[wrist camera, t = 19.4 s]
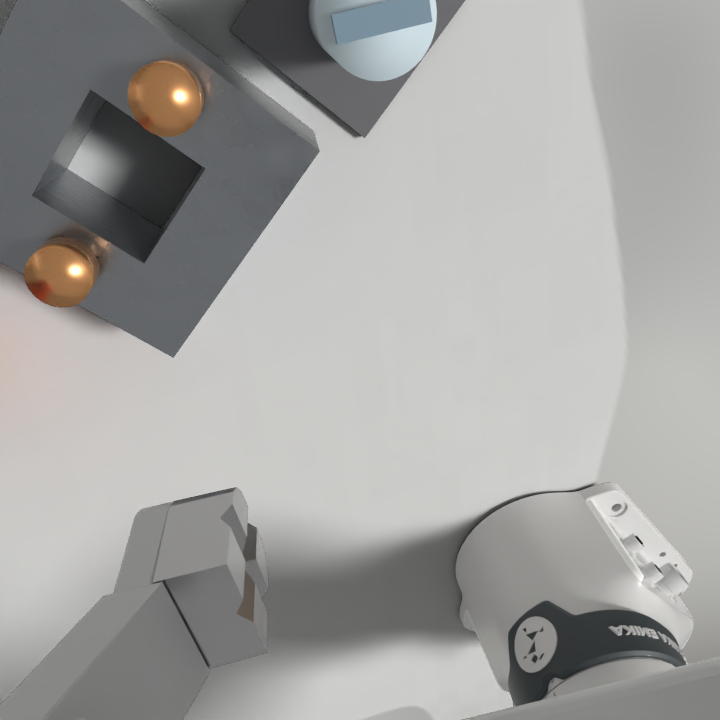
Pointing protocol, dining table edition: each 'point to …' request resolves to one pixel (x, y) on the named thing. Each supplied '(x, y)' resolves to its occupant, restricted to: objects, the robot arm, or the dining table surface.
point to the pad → (321, 59)
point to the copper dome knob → (165, 97)
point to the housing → (200, 143)
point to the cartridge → (374, 34)
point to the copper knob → (61, 272)
